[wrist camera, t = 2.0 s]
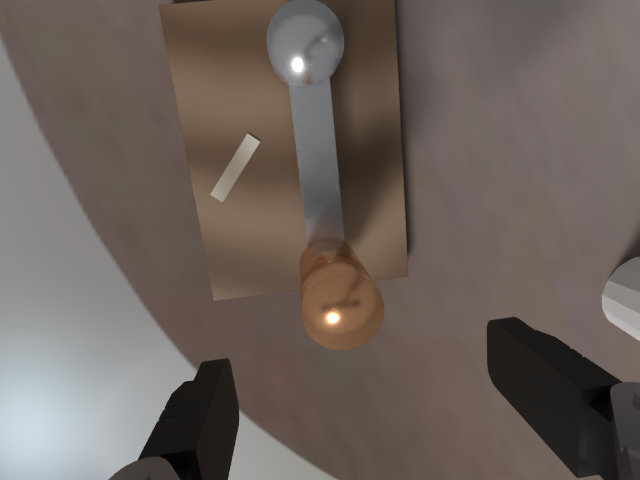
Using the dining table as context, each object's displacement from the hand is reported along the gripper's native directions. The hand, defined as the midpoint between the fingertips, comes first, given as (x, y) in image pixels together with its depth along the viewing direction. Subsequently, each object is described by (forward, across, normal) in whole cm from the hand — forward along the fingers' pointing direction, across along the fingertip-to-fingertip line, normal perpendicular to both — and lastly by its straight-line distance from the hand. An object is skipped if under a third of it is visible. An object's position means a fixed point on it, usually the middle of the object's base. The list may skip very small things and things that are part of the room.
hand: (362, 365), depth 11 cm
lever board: (+12, +1, -7) cm, 14 cm away
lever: (+11, 0, -6) cm, 12 cm away
